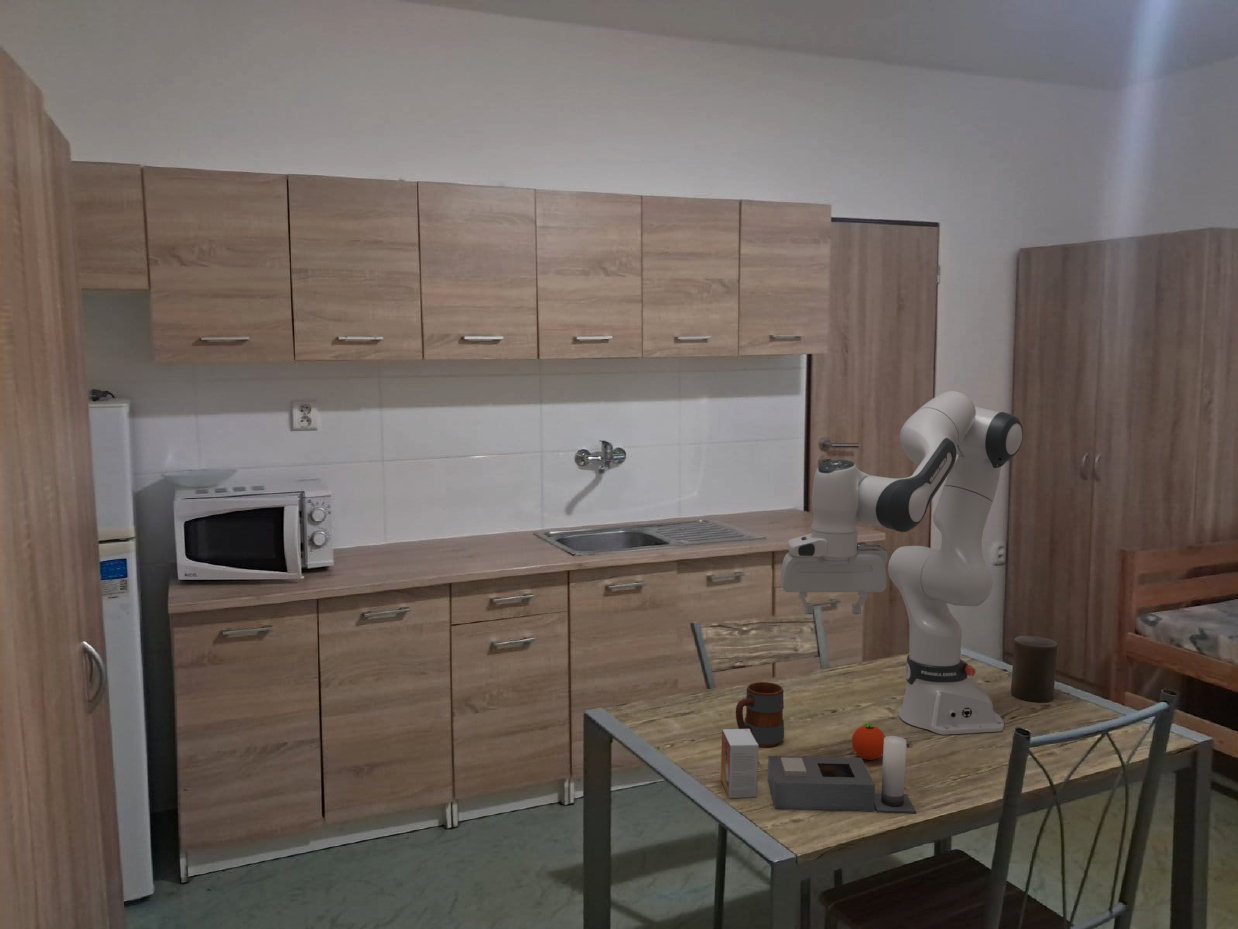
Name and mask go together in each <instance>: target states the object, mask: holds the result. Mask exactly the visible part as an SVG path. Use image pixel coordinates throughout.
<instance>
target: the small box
mask: <svg viewBox="0 0 1238 929" xmlns="http://www.w3.org/2000/svg"><path fill="white" fill-rule="evenodd" d="M759 749H760V746H759V745H758V744H757V742H756V740H755V739H754V737H753V735H752V733H751V731H750V729H739V728H731V729H730V728H729V729H727V728H724V729H723V728H722V730H721V752H720V753H721V756H720V757H721V758H720V781H721V783H722V784H723V788H724V790H725V792H726V796H727V797H728V799H740V798H742V799H743V798H746V799H747V798H748V799H749V798H757V797H758V774H759V770H758V769H759V751H760V750H759Z"/></svg>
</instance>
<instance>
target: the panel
mask: <svg viewBox="0 0 1238 929" xmlns="http://www.w3.org/2000/svg"><path fill="white" fill-rule="evenodd" d="M767 756H768V757H767V758H768V759H767V783H768V787H769V790H770V794H771V798H772V803H773V806H774V809H775V810H806V811H807V810H809V811H812V810H814V811H849V812H850V811H853V812H854V811H855V812H857V811H858V812H860V811H861V812H875V807H874V798H875V792H876V791H875V790H876V784H875V782H874V780H873V778H872V776H871V774H870V772H869V769H868V768H867V766H866V764H865V762H864V759H863V758H861V757H844V756H842V757H841V756H838V757H837V756H836V757H835V756H801V755H800V756H796V755H795V756H792V755H791V756H789V755H767Z"/></svg>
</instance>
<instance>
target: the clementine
mask: <svg viewBox="0 0 1238 929" xmlns="http://www.w3.org/2000/svg"><path fill="white" fill-rule="evenodd" d="M885 737H886V736H885V734H884V732H883V730H881V729H880V728H878V727H877V726H875V725H873V724H871V723H865V722H864V725H861V726H859V727H858V728H856V730H855V731H854V733H853V734H852V737H851V745H852V749H853V751H854V752H855V753H856V754H857V756H859V758H862V760H868V761H873V760H877V759H879V758H881V757H882V756H883V749H884V738H885Z"/></svg>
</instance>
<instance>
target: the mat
mask: <svg viewBox="0 0 1238 929" xmlns="http://www.w3.org/2000/svg"><path fill="white" fill-rule="evenodd" d="M881 794H882V792H881V793H879V792H877V793H875V798H874V810H876V813H879V814H880V813H883V814H917V810H916V809H915V806H914V805H913V803H912V801H911V799H910V798H909V796H908V794H907V793H904V804H903V805H902V806H900V807H890V806H886V805H884V804H883V803H882V802H881Z"/></svg>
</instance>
